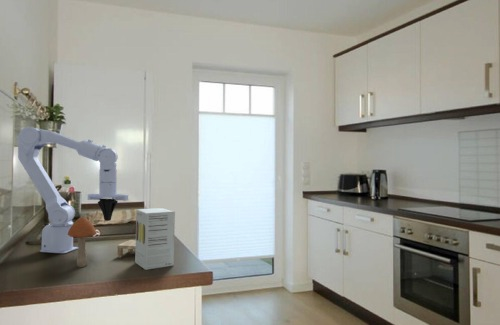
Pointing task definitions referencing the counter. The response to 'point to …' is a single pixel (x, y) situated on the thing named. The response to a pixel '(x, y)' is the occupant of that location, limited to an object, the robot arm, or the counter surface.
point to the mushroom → (82, 237)
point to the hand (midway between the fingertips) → (107, 220)
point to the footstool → (126, 247)
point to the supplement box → (154, 238)
